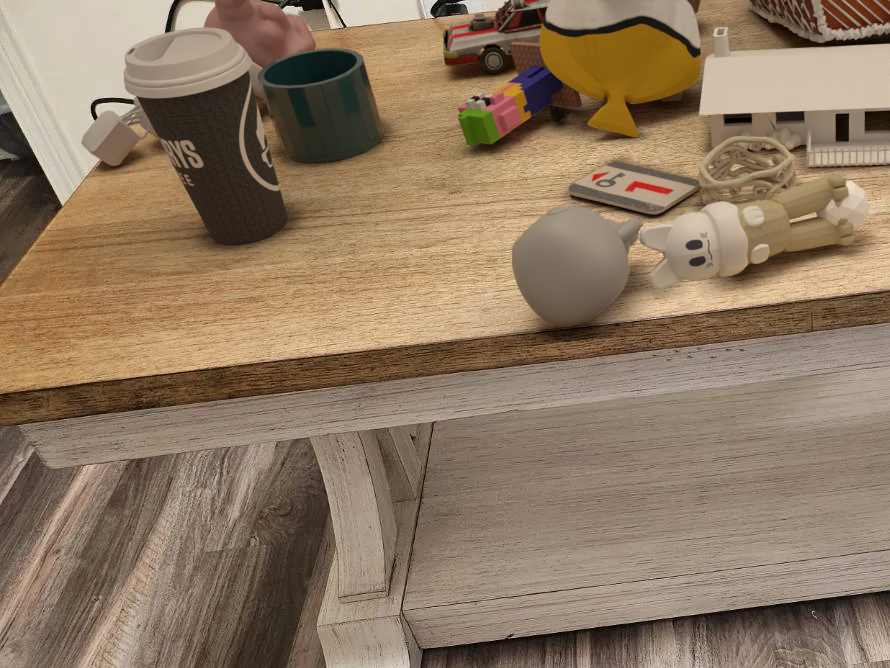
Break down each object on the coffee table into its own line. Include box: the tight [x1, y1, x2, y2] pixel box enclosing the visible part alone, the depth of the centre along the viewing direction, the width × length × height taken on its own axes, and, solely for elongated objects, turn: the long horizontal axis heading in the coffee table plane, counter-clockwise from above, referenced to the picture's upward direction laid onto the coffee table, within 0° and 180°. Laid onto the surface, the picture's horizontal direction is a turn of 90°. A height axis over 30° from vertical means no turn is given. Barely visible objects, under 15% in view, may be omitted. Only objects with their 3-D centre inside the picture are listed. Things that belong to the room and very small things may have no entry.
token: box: [568, 161, 701, 215], centre depth 95 cm, size 7×1×10 cm
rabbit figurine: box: [638, 174, 870, 290], centre depth 84 cm, size 5×10×18 cm
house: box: [698, 26, 890, 168], centre depth 99 cm, size 25×24×7 cm
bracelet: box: [697, 136, 797, 206], centre depth 91 cm, size 4×8×8 cm
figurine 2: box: [457, 42, 583, 146], centre depth 104 cm, size 7×6×12 cm
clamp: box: [80, 61, 265, 167], centre depth 109 cm, size 20×4×7 cm, turn 130°
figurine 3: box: [511, 205, 644, 327], centre depth 80 cm, size 8×8×12 cm
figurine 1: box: [203, 0, 317, 68], centre depth 115 cm, size 9×11×12 cm
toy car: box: [442, 0, 550, 74], centre depth 117 cm, size 8×18×8 cm, turn 101°
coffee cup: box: [123, 27, 289, 245], centre depth 90 cm, size 10×10×15 cm
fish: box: [539, 0, 702, 138], centre depth 103 cm, size 20×12×15 cm
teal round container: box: [257, 47, 385, 164], centre depth 105 cm, size 10×10×7 cm
